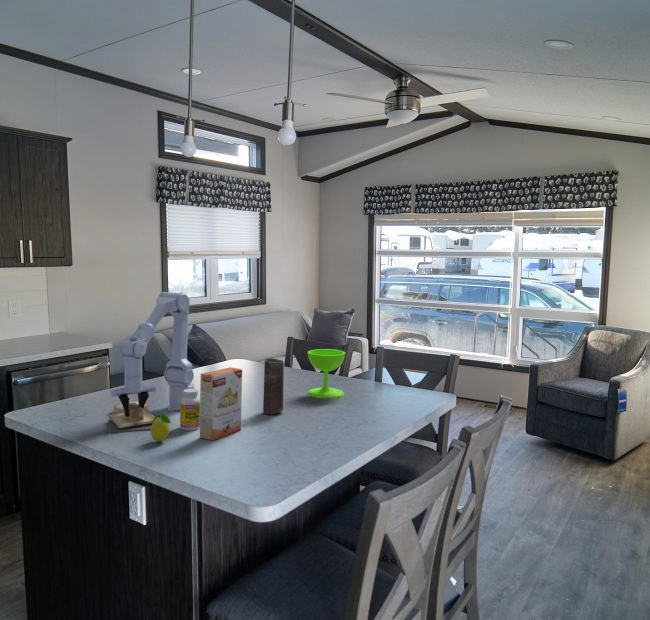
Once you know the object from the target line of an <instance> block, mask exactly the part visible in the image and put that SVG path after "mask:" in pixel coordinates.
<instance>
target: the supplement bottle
mask: <svg viewBox="0 0 650 620" xmlns="http://www.w3.org/2000/svg"><path fill="white" fill-rule="evenodd" d="M183 394H184V397H183V398H182V399H181V401H180V410H179V412H180V413H179V417H180V418H179V419H180V420H179V428H180V429H181V430H183V431H196V430H198V429H199V430H200V397H198V394H199V390H198V389H195V388H194V389H186V390H184V391H183Z"/></svg>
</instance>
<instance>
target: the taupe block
mask: <svg viewBox="0 0 650 620" xmlns="http://www.w3.org/2000/svg"><path fill="white" fill-rule="evenodd" d="M154 415H155V414H152V413H151V411H147V410H143V408H142V407H140V406H139V405H138V404H137V403H129V416H128V417H126V416H125V412H124V413H120V414H114V413H112V414H109V415H108V419H109V420H110V419H111V420H112V421H113V422H114V423H115V424H116V425H117V426H118V428H123V427H129V426H135V425H142V424H148V423H153V422H154V421H155V420H156V419H157V418H156V419H155V420H154V421H153V419H154V417H155V416H154Z"/></svg>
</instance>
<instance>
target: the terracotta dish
mask: <svg viewBox="0 0 650 620" xmlns="http://www.w3.org/2000/svg"><path fill="white" fill-rule="evenodd" d="M129 403H137V404H138V405H139V402H138V400H135V401H133V400H132V401H131V400H129ZM149 404H150V403H148V402H146V403H145V406H144V409H143V410H147V411H149ZM149 412H150V411H149ZM120 413H124V408H123V405H122V403H121V402H120V403H116V404H115V405H114V406H113V414H120Z"/></svg>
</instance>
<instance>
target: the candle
mask: <svg viewBox="0 0 650 620" xmlns="http://www.w3.org/2000/svg"><path fill="white" fill-rule="evenodd" d="M284 363H285V362H284V361H283V360H281V359H278V358H277V359H276V358H274V357H273V358H272V357H270V358H265V359H264V368H263V369H264V372H263V373H264V375H263V401H262V402H263V404H262V405H263V406H262V411H263V412H262V413H263V414H266V415H268V414H271V415H275V414H280V413H281V412H283V411H284V377H285V375H284V374H285V373H284V370H285V368H284V367H285V364H284Z"/></svg>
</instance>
